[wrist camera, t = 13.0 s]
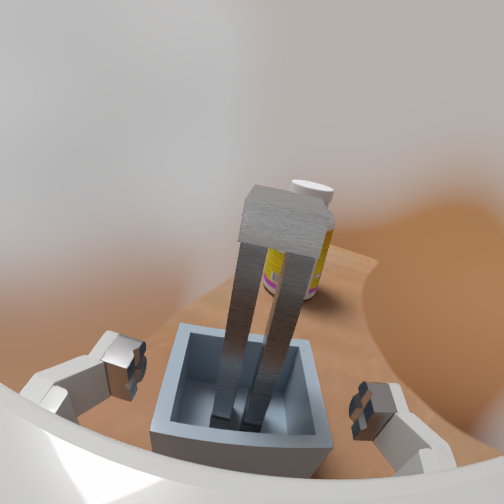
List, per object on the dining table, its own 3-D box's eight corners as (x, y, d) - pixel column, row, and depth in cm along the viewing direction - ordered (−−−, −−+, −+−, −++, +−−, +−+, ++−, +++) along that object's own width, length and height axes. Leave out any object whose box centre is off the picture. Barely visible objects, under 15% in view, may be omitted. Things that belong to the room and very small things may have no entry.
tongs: (260, 412, 19) (322, 198, 13) (254, 448, 16) (330, 217, 11) (216, 403, 19) (255, 184, 13) (206, 437, 16) (245, 198, 11)
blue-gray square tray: (289, 391, 22) (308, 340, 20) (301, 487, 14) (333, 447, 12) (177, 376, 22) (180, 322, 20) (156, 474, 14) (149, 430, 12)
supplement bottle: (303, 276, 42) (327, 182, 37) (323, 303, 36) (354, 197, 31) (255, 273, 40) (275, 174, 35) (269, 303, 34) (296, 187, 29)
